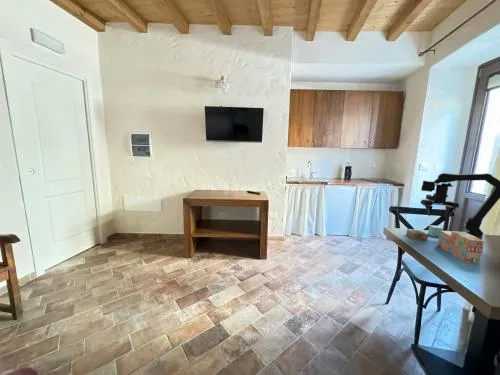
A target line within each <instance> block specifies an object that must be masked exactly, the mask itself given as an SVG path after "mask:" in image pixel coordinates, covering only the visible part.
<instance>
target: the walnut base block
mask: <svg viewBox="0 0 500 375" xmlns="http://www.w3.org/2000/svg"><path fill="white" fill-rule="evenodd" d="M405 235H406V236H408V237H409V238H410V239H412V240H418V241H426V240H427V241H428V239H429V234H428V233H426V232H424V231H423V230H421V229H420V230H419V229H409V228H407V229H406V234H405Z"/></svg>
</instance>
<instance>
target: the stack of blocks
mask: <svg viewBox="0 0 500 375" xmlns="http://www.w3.org/2000/svg"><path fill="white" fill-rule="evenodd" d="M466 232H467V231H466ZM466 232H465V231H457V230H456V231H455V230H452V231H449V230H442V231H440V233H439V237H438V242H437V246H438V247H440V248H441V249H442V250H444V251H446V252H447V253H449V254H450V255H452V256H453V257H455V258H456V259H457V260H460V261H461V262H462V263H466V264H472V265H473V264H474V265H479V264H480V262H481V257H482V253H483V249H484V248H483V247H484V244H485V240H483V239H482V240H481V239H479V238H477V237H475V236H473V235H470V234H468V233H466Z"/></svg>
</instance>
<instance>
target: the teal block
mask: <svg viewBox="0 0 500 375" xmlns="http://www.w3.org/2000/svg"><path fill="white" fill-rule="evenodd" d="M440 231H443V227H441V226H439V225H431V224H430V225H429V226H428V231H427V234H428V236H429V235H430V236H431V237H435V236H439V233H440Z"/></svg>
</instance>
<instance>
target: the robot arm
mask: <svg viewBox="0 0 500 375" xmlns="http://www.w3.org/2000/svg"><path fill="white" fill-rule="evenodd" d="M458 181H459V182H460V181H461V182H463V181H485V182H487V183H488V184H490V185H491V186H492V188H491V190H490V193H489V196H487V198H485V199H486V200H484V202H483V203H482V204H481V206H479V207H478V210H477V211H476V212H475V213H474V214H473V215H472V216H470V215H468V216H467V217H466V219H465V220H463V222H464V223H463V225H464V227H465V230H467V231H466V233H468V234H470V235H473V236H475V237H477V238H479V239H481V240H483V236H484V232H483V231H482V229H481V228H480V227H481V225H482V223H483V220H484V218H485V217H486V216H487V215H488V213H489V212H490V211H491V210H492V208H493V207H494V206H495V205H496V204H497V202H498V201H499V200H500V180H499V179H497V178H496V177H494V175H492V174H490V173H488V172H487V173H469V174H467V173H465V174H457V173H447V172H442V173H440V174H439V175H438V176H437V178H436V179H435V180H434V181H430V180H428V181H427V180H423V181H422V185H421V189H420V190H421V191H423V192H433V191H435V192H434V193H433V195H432V194H426V196H425V199H422V200H420V204H421V205H422V206H424V207H425V209H426V211H427V215H428V216H429V217H430V216H431V214H432V210H433V205H437V206H445V211H444V218H447V217H448V216H449V215H450V213H452V211H454V210H456V209H458V208H460V203H458V202H456V201H451V200H450V201H447V198H448V197H449V195H448V190H449V187H452V188H453V187H454V186H453V184H452V183H451V182H458ZM440 183H441V184H440Z"/></svg>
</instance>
